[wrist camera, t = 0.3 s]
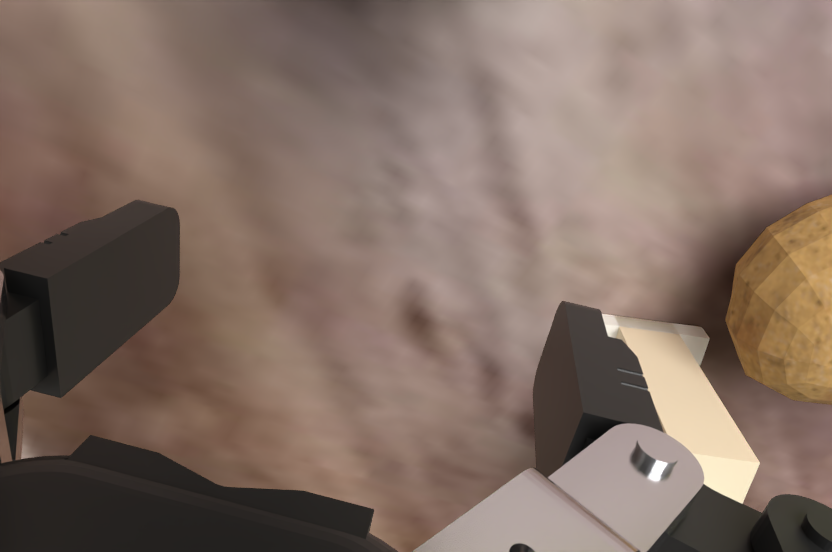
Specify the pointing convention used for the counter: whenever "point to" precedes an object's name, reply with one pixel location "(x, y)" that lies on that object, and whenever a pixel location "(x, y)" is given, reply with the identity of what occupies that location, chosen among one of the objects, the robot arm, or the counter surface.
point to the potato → (787, 305)
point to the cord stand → (689, 399)
